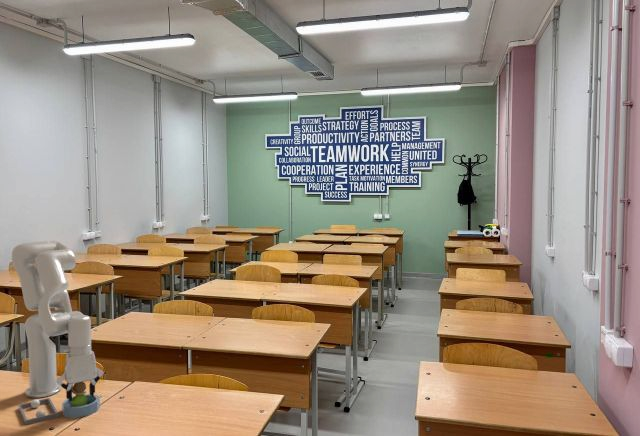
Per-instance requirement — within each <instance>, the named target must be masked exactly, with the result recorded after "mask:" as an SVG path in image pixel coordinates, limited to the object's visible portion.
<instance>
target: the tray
mask: <svg viewBox="0 0 640 436" xmlns="http://www.w3.org/2000/svg"><path fill="white" fill-rule="evenodd" d="M38 400H39V401H40V405H44V404H48V405H49V407H50V409H51V411H52V412H53V413H49V414H45V416H41V417H36V416H35V417H34V418H28V419H27V417H26V414H25V412H24V410H23V409H26V408H30V407H31V402H32V401H30V402H24V403H19V404H18V411H19V413H20V416H21V418H22V421H23V423H24V425H25V426H27V425H30V424H32V425H33V424H37V423H41V422H44V421H47V420H51V419H52V420H53V419H55V418H56V419H57V418H59V412H58V410H57V408H56V407H55V405H54V403H53V402H52V400H51V398H50V397H48V398H44V399H38ZM31 408H32V407H31Z"/></svg>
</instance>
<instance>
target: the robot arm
mask: <svg viewBox="0 0 640 436" xmlns="http://www.w3.org/2000/svg"><path fill="white" fill-rule="evenodd" d="M11 262H12V266H13V268H14V270H15V272H16V274H17V276H18V278H19V281H20V286H21V291H22V297H23V301H24V306H25V307H26V309H27V310H28V311H31V312H36V311H37V312H38V313H36V314H33V315H31V316H29V317H28V318H27V319H26V321H25V323H24V329H25V334H26V338H27V349H28V371H29V372H28V373H29V375H28V376H29V387H28V388H27V389H26V390H25V391H24V392H25V393H24V394H25V396H26V397H28V398H34V399H37V398H44V397H49V396H52V395H55V394H57V393H58V392H60V391H61V389H63V390H66V392H65V394H66V396H65V397H66V399H69V401H72V397H73V393H72V390H71V387H72V385H73V386H74V384H75V383H79V382H84V383H85V382H89V381H90V383H89V386H88V387H89V394H90V395H91V396H94V395H95V394H96V385H97V383H98V382H99V381H100V379H101V378H102V376H103V375H104V374H105V372H104V371H103V370H102V369H100V368H98V367H97V363H96V361H97V360H96V356H95V351H93V350H92V326H91V325H92V320H91V317H90V316H89V315H88V314H87V315H86V314H83V313H82V312H81V311H79V310H75V311H74V310H73V309H72V304H71V300H70V296H69V292H68V288H69V286H70V285H69V281H68V279H67V275H66V274H65V271H71V270H73V269H75V267H76V265H77V257H76V254H75V253H74V252H73V250H72V249H71V248H69V247H68V246H66V245H65V244H63V243H61V242H60V241H56V240H48V241H46V240H45V241H35V242H34V241H33V242H25V243H20V244H18V245H16V246H14V247H13V248H12V252H11ZM51 309H54V310H51ZM65 334H67V339H68V343H67V348H64V349H63V353H65V354H66V357H65V363H64V364H65V365H64V373H62V374H61V375H60V376H59V377H58V379H57V376H58V375H57V349H56V344H55V343H54V342H53V341H52V340H51V339H50V337H56V336H61V335H65ZM64 380H65V382H66V383H65V382H63V381H64ZM94 393H95V394H94Z"/></svg>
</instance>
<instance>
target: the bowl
mask: <svg viewBox="0 0 640 436" xmlns="http://www.w3.org/2000/svg"><path fill="white" fill-rule="evenodd" d="M84 395H85V396H86V397H87V400H88V402H87V405H85V406H80V407H72V405H71V401H69V399H67V398H66V399H65V400H64V401H63V402H62V403H61V406H62V407H61V409H62V411H61V412H62V415H63V416H64V417H67V418H70V419H71V418H72V419H73V418H74V419H75V418H82V417H87V416H90V415H93V414H95V413H96V412H98V410H99V409H100V408H101V405H100V404H101V402H100V401H101V400H100V396H99V395H97V394H94V396H91V395H90V393H85V394H84ZM74 396H75V395H72V398H73V397H74Z"/></svg>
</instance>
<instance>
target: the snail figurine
mask: <svg viewBox="0 0 640 436" xmlns="http://www.w3.org/2000/svg"><path fill="white" fill-rule="evenodd" d="M71 390H72V394H74V395H73V396H74V397H73V396H72V397H73V398H72V401H71V405H72V407H80V406H85V405H87V402H88V400H87V397H86V396H85V395H84V394H87V391H85V390H87V384H86V383H85V381H84V382H79V383H74V384H73V385H72V387H71Z"/></svg>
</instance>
